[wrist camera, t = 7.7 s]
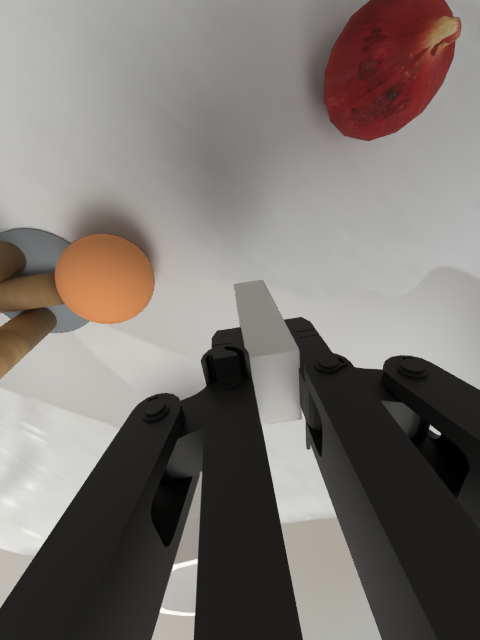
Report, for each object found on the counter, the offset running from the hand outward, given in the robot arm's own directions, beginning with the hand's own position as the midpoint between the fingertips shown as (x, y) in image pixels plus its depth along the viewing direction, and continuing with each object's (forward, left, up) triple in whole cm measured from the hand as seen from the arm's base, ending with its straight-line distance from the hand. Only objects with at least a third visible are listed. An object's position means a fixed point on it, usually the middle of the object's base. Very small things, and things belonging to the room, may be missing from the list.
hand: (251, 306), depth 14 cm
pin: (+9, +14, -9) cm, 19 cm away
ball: (+6, +6, -6) cm, 11 cm away
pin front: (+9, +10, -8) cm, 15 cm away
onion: (+2, -13, -9) cm, 16 cm away
